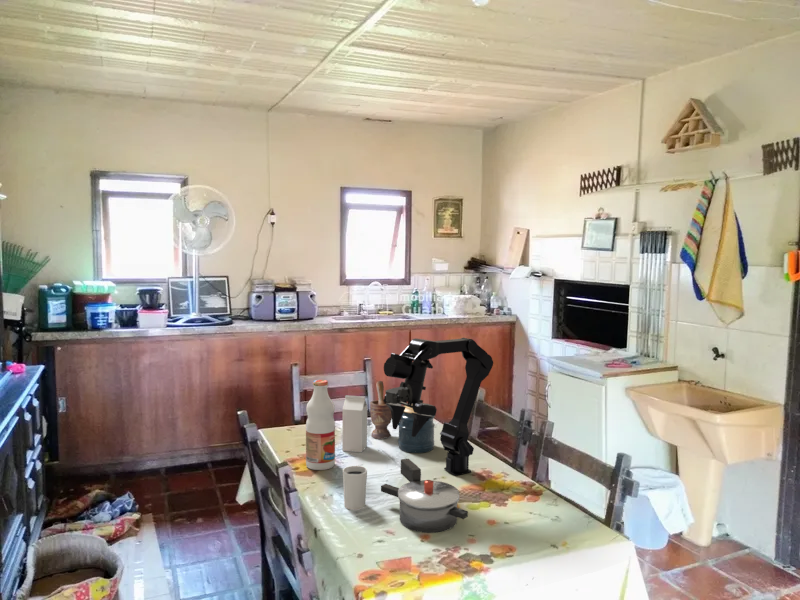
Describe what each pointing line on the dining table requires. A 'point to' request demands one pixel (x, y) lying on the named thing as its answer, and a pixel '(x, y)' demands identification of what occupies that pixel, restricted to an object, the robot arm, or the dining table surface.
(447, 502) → the lid
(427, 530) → the pot
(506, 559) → the dining table surface
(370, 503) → the dining table surface
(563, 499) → the dining table surface
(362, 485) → the white cup
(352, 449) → the milk carton
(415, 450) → the canister
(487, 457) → the dining table surface
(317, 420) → the fruit juice
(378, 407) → the mortar and pestle
